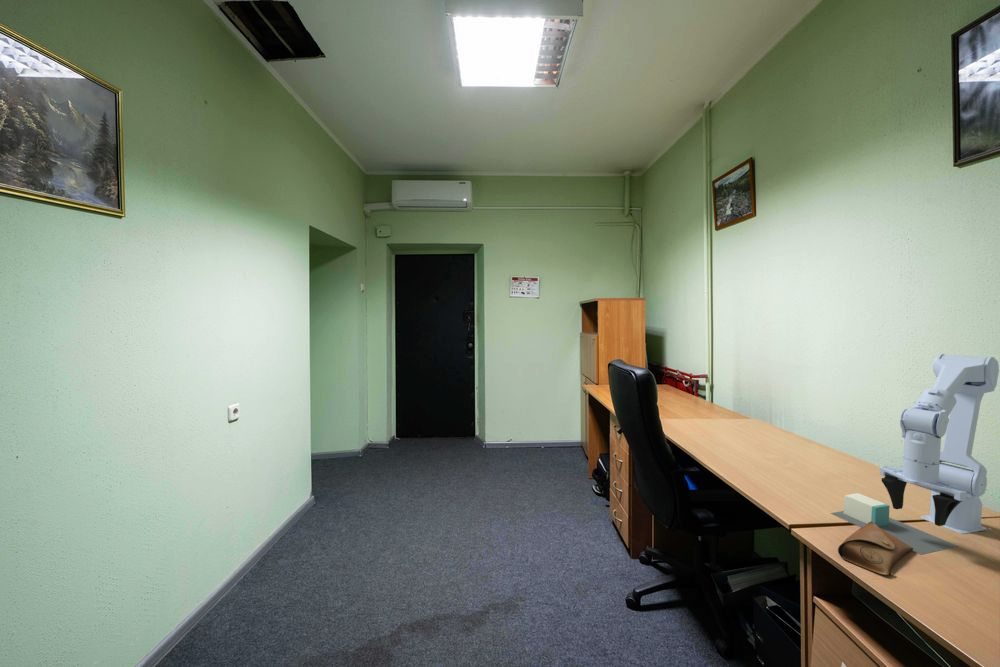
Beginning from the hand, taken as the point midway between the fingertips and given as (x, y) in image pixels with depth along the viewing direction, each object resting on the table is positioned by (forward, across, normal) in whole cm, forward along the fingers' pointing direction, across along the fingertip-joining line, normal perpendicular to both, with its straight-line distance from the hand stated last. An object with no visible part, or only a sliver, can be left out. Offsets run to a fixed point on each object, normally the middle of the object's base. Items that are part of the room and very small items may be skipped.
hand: (917, 516), depth 90 cm
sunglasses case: (+6, +1, -15) cm, 16 cm away
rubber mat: (+6, -5, 0) cm, 8 cm away
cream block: (+3, -7, 0) cm, 8 cm away
